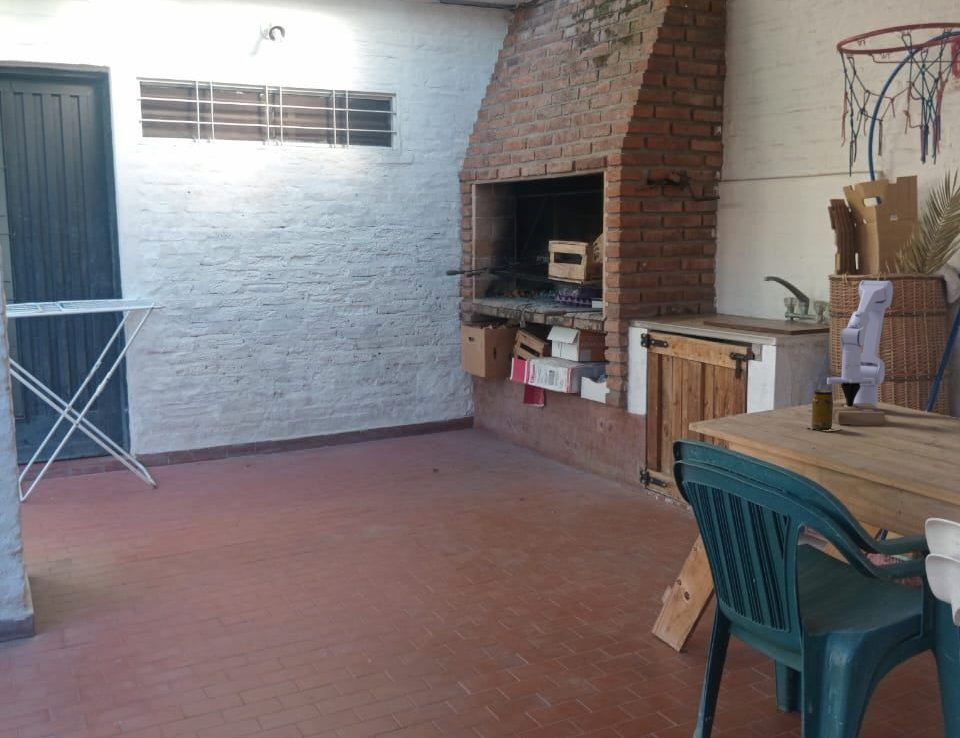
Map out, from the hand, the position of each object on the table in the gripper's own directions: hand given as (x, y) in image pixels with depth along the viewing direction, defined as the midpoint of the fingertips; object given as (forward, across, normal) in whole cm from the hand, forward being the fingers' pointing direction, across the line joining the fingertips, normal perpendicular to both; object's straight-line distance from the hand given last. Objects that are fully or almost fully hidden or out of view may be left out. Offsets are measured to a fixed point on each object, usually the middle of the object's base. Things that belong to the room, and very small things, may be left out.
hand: (849, 406), depth 326 cm
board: (+4, +1, -3) cm, 5 cm away
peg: (+4, 0, 0) cm, 4 cm away
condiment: (+4, -12, -18) cm, 22 cm away
